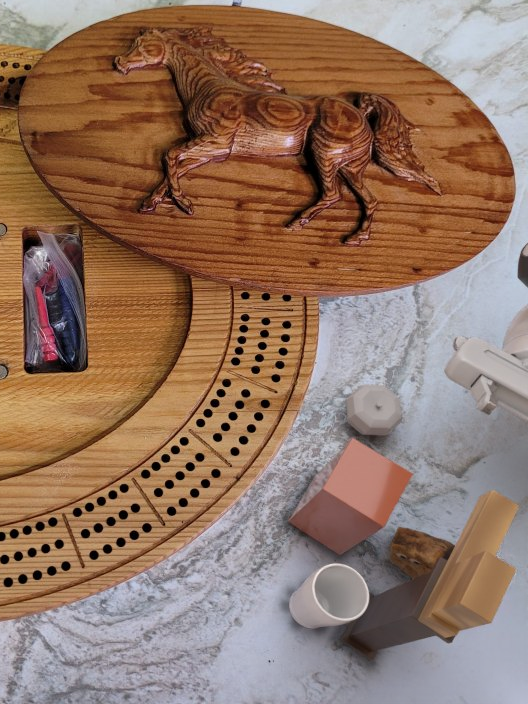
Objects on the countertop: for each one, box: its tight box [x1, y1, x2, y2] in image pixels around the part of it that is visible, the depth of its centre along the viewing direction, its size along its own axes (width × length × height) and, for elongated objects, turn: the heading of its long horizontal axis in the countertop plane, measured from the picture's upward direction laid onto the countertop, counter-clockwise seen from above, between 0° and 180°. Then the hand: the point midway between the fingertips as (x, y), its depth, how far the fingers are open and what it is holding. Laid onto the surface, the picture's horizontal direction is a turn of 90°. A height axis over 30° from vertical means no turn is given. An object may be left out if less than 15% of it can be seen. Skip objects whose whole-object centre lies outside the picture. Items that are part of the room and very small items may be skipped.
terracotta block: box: [287, 437, 414, 556], centre depth 108 cm, size 8×8×18 cm
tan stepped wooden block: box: [418, 489, 520, 638], centre depth 83 cm, size 3×16×10 cm, turn 144°
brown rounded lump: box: [389, 526, 456, 579], centre depth 108 cm, size 12×6×11 cm, turn 54°
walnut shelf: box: [338, 557, 456, 662], centre depth 98 cm, size 4×8×26 cm, turn 144°
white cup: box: [288, 563, 370, 630], centre depth 104 cm, size 7×7×15 cm
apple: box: [345, 384, 403, 436], centre depth 119 cm, size 8×8×7 cm
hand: (526, 430), depth 95 cm, fingers open, 8 cm apart
